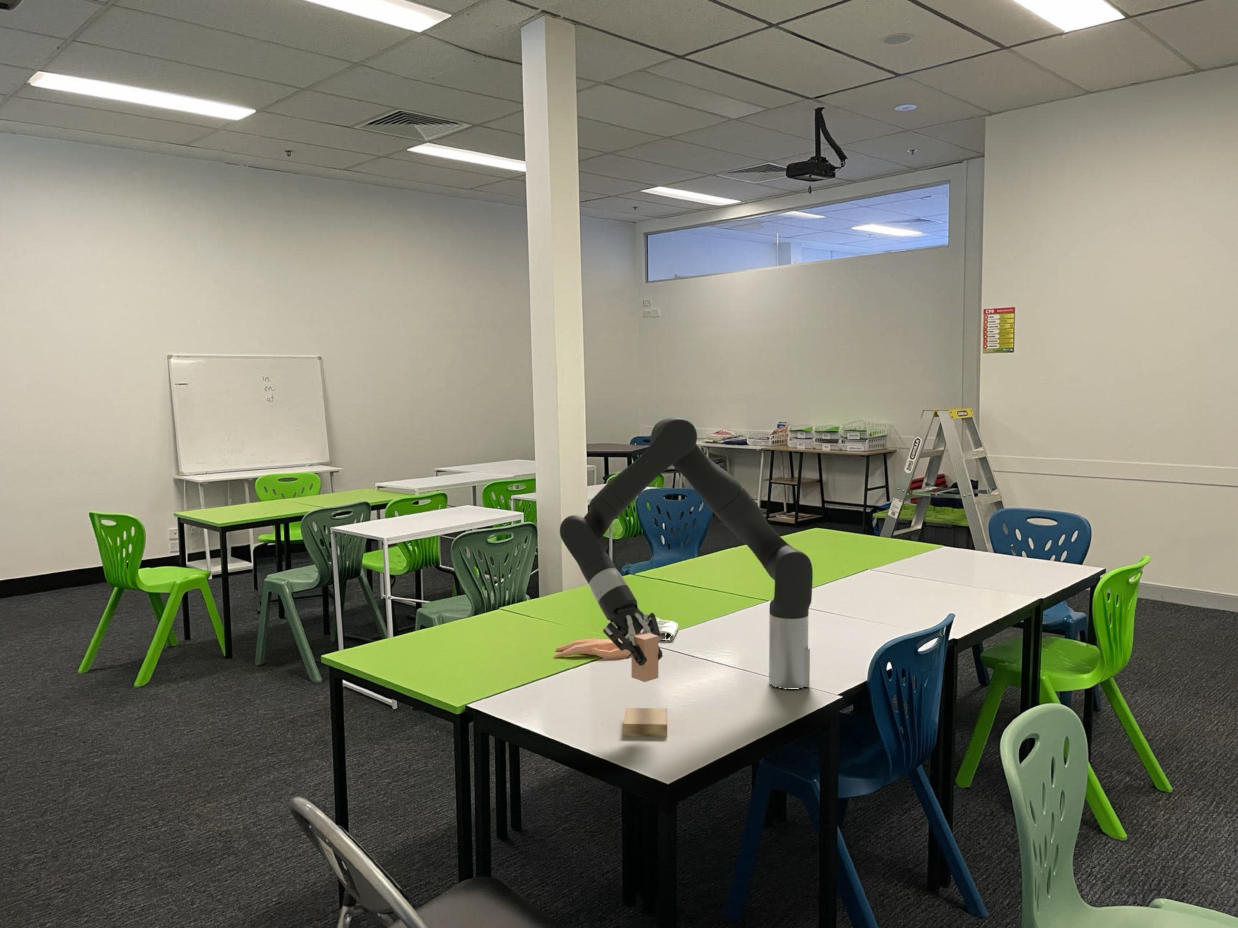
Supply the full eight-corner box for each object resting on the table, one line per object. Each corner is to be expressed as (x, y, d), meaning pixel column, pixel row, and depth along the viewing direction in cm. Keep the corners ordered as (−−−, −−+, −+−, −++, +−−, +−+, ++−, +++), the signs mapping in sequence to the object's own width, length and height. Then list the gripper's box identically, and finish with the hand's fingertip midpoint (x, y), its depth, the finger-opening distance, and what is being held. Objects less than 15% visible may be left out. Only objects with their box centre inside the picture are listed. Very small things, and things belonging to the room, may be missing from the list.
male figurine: (556, 637, 240) (645, 629, 240) (557, 654, 241) (647, 646, 240) (552, 648, 230) (646, 640, 229) (554, 667, 230) (648, 658, 230)
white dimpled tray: (672, 646, 243) (621, 643, 246) (679, 628, 260) (632, 626, 263) (672, 634, 242) (620, 632, 245) (679, 617, 260) (631, 615, 263)
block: (645, 673, 185) (645, 632, 184) (658, 677, 182) (658, 635, 181) (631, 677, 182) (631, 635, 182) (644, 682, 179) (644, 639, 179)
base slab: (667, 722, 187) (667, 708, 187) (667, 738, 178) (667, 724, 178) (625, 721, 188) (625, 707, 188) (623, 737, 179) (623, 723, 179)
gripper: (595, 589, 181) (635, 658, 173) (644, 579, 191) (684, 644, 183) (579, 609, 186) (618, 678, 178) (628, 598, 195) (666, 663, 187)
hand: (651, 660), depth 180 cm, fingers closed on block, 4 cm apart
